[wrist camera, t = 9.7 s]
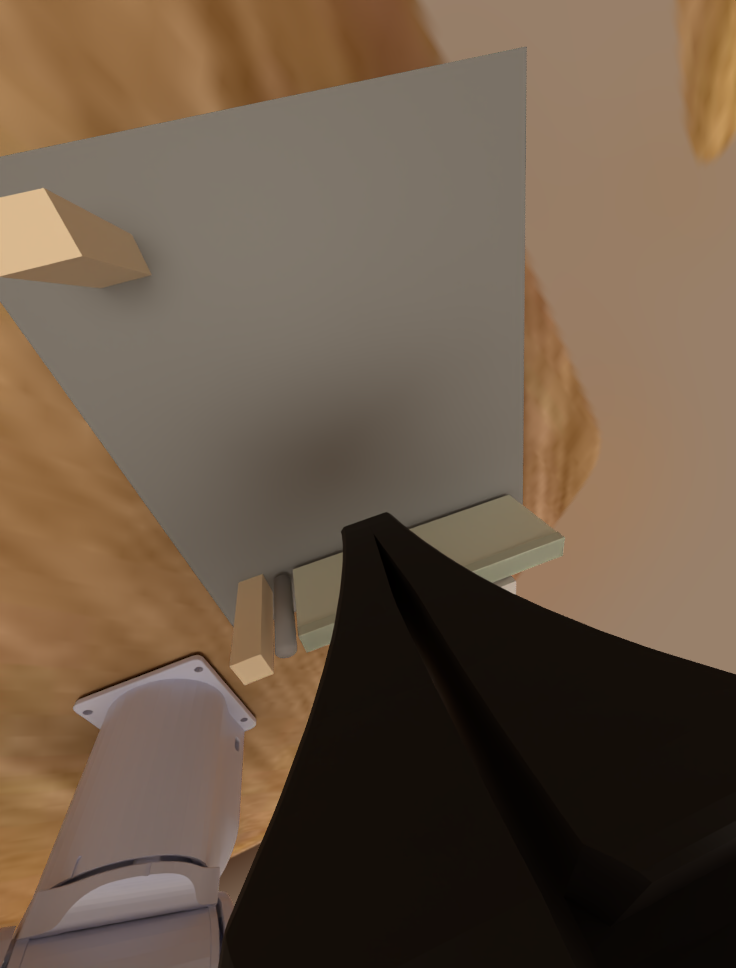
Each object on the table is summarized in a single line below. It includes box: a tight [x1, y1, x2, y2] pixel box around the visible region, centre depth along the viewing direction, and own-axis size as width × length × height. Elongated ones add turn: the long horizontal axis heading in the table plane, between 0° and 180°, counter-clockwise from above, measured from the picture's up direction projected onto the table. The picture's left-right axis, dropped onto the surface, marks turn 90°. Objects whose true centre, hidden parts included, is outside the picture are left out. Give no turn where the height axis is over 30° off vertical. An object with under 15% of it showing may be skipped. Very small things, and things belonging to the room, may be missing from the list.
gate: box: [274, 495, 565, 658], centre depth 18 cm, size 15×1×5 cm, turn 102°
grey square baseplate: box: [0, 47, 527, 685], centre depth 14 cm, size 22×20×6 cm
